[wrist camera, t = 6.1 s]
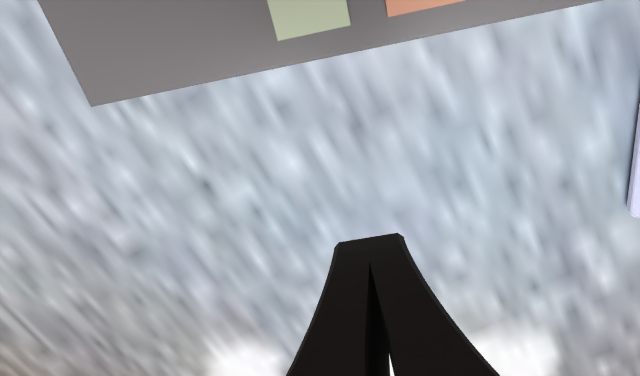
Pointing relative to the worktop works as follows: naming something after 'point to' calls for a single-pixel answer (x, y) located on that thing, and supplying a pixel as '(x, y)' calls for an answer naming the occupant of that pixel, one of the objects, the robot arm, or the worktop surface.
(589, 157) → the worktop surface
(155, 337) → the worktop surface
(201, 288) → the worktop surface
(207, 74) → the keypad
